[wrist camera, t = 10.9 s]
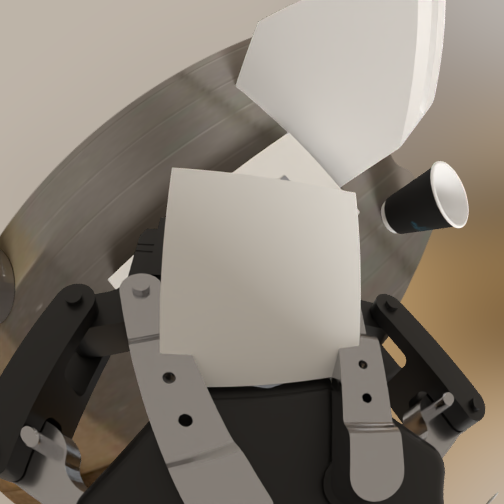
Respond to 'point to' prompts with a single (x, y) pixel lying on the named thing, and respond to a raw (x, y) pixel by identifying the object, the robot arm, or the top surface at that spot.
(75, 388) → the robot arm
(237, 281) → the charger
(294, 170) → the outlet strip
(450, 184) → the dixie cup
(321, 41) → the milk carton
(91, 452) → the top surface
